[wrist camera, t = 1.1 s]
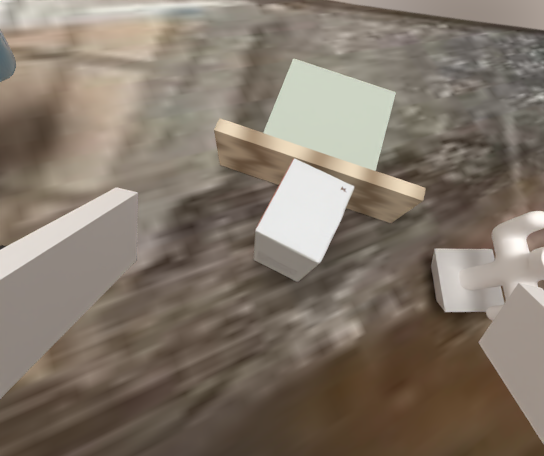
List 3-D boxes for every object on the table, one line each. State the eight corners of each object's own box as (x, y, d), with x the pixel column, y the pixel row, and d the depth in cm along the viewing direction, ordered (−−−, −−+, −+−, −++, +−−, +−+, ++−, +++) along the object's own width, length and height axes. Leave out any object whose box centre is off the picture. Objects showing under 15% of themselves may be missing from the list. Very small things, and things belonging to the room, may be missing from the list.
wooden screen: (220, 165, 42) (214, 129, 34) (224, 155, 43) (219, 118, 35) (390, 223, 42) (423, 200, 34) (393, 212, 42) (425, 188, 34)
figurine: (428, 322, 38) (537, 321, 24) (417, 246, 41) (508, 205, 27) (484, 321, 39) (624, 320, 24) (469, 247, 41) (587, 206, 27)
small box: (279, 206, 41) (294, 155, 29) (323, 227, 41) (357, 185, 28) (251, 260, 39) (253, 230, 26) (297, 284, 38) (322, 264, 26)
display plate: (257, 151, 43) (257, 146, 42) (292, 64, 48) (293, 58, 47) (368, 188, 43) (371, 185, 42) (392, 97, 48) (395, 92, 46)
